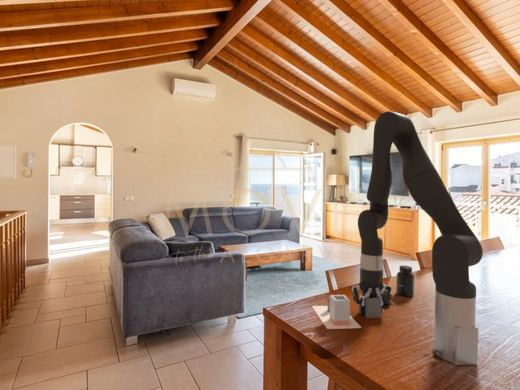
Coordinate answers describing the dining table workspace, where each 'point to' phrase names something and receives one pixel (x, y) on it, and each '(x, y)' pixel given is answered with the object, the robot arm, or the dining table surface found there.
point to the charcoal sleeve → (372, 307)
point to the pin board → (325, 317)
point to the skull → (389, 299)
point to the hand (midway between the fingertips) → (370, 315)
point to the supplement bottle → (405, 282)
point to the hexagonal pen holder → (339, 310)
